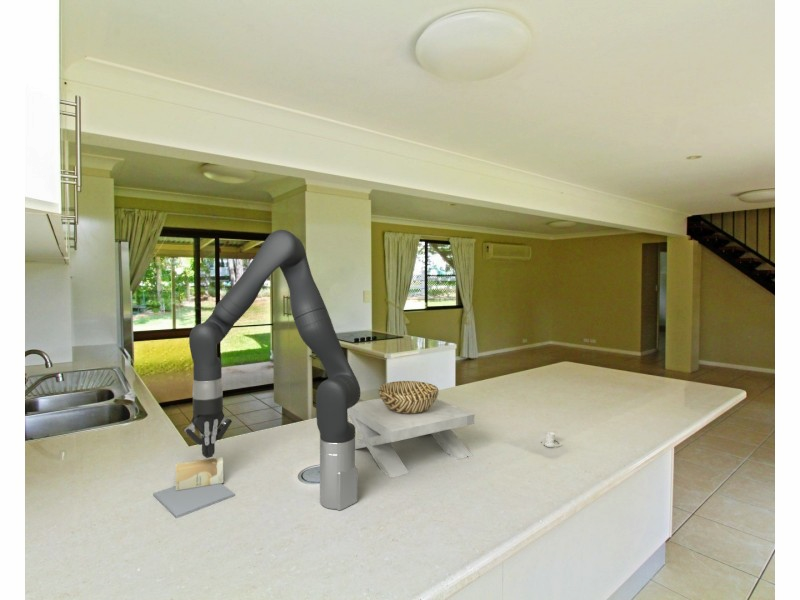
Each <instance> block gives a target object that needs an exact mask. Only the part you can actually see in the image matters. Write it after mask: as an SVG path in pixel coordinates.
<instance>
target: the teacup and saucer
mask: <svg viewBox="0 0 800 600" xmlns="http://www.w3.org/2000/svg"><path fill="white" fill-rule="evenodd" d="M555 438H556V433H555V432H552V431H547V432H545V439H546V441H544V443H543V444H544V445H545V446H544V447H546V446H547V447H546V448H551V447H555V446H556V443H555V442H554V440H556V439H555Z"/></svg>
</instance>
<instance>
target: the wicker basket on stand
mask: <svg viewBox="0 0 800 600" xmlns="http://www.w3.org/2000/svg"><path fill="white" fill-rule="evenodd" d="M439 391H440V390H439V388H438V387H437V386H436V385H434V384H432V383H428V382H425V381H423V382H422V381H418V380H417V381H416V380H414V381H413V380H400V381H399V380H398V381H392V382H386V383H383V384H382V385H380V386H379V387H378V395H379V397H380V398H374V399H369V400H368V399H367V400H363V401H358V402H357V403H356V404H355V405H354V406H352V407H350V408H349V409H347V414H348V418H349V419H350V420H351V423H352V424H353V425H354V426H355V430H356V432H357V433H358V435H360V437H361V439H359V440H355V450H357V449H363V448H367V450H368V451H369V452H370V454H371V456H372V457H373V459H374V461H375V463H376V464H377V465H378V467H379V469H380V471H382V472H383V473H385V474H386V475H387V476H388V477H389V478H396V477H400V476H403V474H404V475H407V474H410V472H409V470H408V469H407V467H406V466H405V464H404V463H403V462H402V460H401V458H400V457H399V455H398V453H397V452H396V451H395V449H394V447H393V446H392V445H391V443H394V442H398V441H402V440H403V441H404V440H407V439H411V438H416V437H421V436H425V435H426V436H427V435H429V434H431V436H432V437H433V438H434V440H435V441H436V443H438V444H439V446H440V447H441V449H442V450H444V452H445V454H447V453H448V454H447V455H449V454H450V455H449V456H451V457H453V458H454V459H456V458H457V459H456V460H461V458H462V459H464V457H465V458H468V457H467V456H469V457H471V455H472V456H473V454H472V453H471V452H470V450H469V449H468V448H467V447H466V446H465V444H464V443H463V442H462V441H461V440H460V438H459V437H458V436H457V435H456V434H455V432H454V431H453V430H452V429H457V428H461V427H466V426H470V425H474V424H475V414H474V413H472V412H470V411H468V410H466V409H463V408H460V407H458V406H455V405H452V404H450V403H448V402H445V401H443V400H440V399H438V396H439Z"/></svg>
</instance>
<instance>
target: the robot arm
mask: <svg viewBox="0 0 800 600" xmlns="http://www.w3.org/2000/svg"><path fill="white" fill-rule="evenodd" d="M279 268H280V271H281V272H282V274H283V276H284V279H285V281H286V284H287V287H288V290H289V302H290V309H291V315H292V318H293V321H294V324H295V326H296V329H297V331H298V334H299V336H300V338H301V339H302V342H304V343H305V345H306V346H307V347H308V348H309V349H310V351H312V352H313V353H314V355H315V356H316V357H317V358H318V359H319V361H320V363H321V364H322V365H323V368H324V370H325V373H326V376H327V379H325V380H323V381H322V382H321V383H320V384H319V385H318V386H317V390H316V394H315V410H316V426H317V429H318V432H319V503H320V505H321V506H322V507H324V508H326V509H331V510H337V511H342V510H344V509H346V508H348V507H349V506H351V505H354V504H356V503H357V502H358V470H359V469H358V466H356V449H355V441H356V428H355V426H354V424H353V423H352V422H350V421H349V419H348V418H349V416H348V414H347V409H349V408H350V407H352V406H354V405H355V404H356V403H357V402H360V399H361V388H360V384H359V381H358V378H357V377H356V375H355V373H354V370H353V368H352V367H351V365H350V363H349V361H348V359H347V357H346V355H345V353H344V351H343V348H342V346H341V343H340V341H339V337H338V335H337V333H336V331H335V328H334V324H333V322H332V319H331V316H330V313H329V311H328V308H327V307H326V304H325V301H324V299H323V296H322V294H321V292H320V290H319V288H318V286H317V284H316V282H315V279H314V278H313V275H312V270H311V268H310V264H309V261H308V257H307V252H306V249H305V246H304V243H303V242H302V241H301V239H300V238H298V237H297V236H296V235H295V234H294V233H292V232H291V231H289V230H286V229H278V230H274V231H272V232H271V233H270V234H269V235H268V236H267V237H266V239H264V242H263V243H262V245H261V246H260V248H259V250H258V251H257V253H256V255H254V257H253V258H252V260H251V261H250V263H249V264H248V266H247V267H246V269H244V272H243V273H242V274H241V276H240V277H239V278H238V280H236V281H235V283H234V284H233V285H232V287H231V288H230V289H229V290H228V291H227V292H226V293H225V295H224V296H223V297H222V298H221V299H220V300H219V301H218V302H217V304H216V305H215V307H214V308H213V312H212V313H211V314H210V316H208V318H207V319H206V320H205V321H204V322H202V323H198V324H196V325H194V327H192V329H191V331H190V333H189V338H188V342H189V343H188V344H189V349H190V355H191V359H192V363H193V366H192V367H193V371H192V373H193V384H192V392H191V394H192V395H191V396H192V416H193V417H192V419H191V420H190V421H191V423H190V424H189V425H188V426H187V427H183V429H182V432H183V433H184V434H186V435H187V436H188V437H189V438H190V439H191V440H192V441H193V442H194V443H195V444H197V445H200V446H201V455H202V456H203V457H204V458H206V459H211V458H212V457H213V455H214V454H215V452H216V451H215V450H216V449H215V443H216V442H217V441H220V440H221V439H222V438H223V437H224V435H225V434H226V432H227V430H228V429H229V428H230V425H231V424H232V422H233V420H232V419H230V418H229V417H225V413H224V411H223V410H224V404H223V403H224V398H223V397H224V394H223V393H224V392H223V387H224V385H223V379H222V360H221V358H220V357H219V356H218V347H217V346H218V345H219V344H220V343H221V342H222V341H223V340H224V339H225V338H226V336H227V335H228V334H229V332H230V331H231V330H232V328H233V326H234V325H235V324H236V323H237V322H238V321H239V320H240V319H241V318H242V317H243V316H244V314H245V313H247V311H248V310H249V309H250V308H251V307H252V305H253V304H254V302H255V301H256V299H257V298H258V296H259V293H260V291H261V289H262V287H263V286H264V284H265V283H266V281H267V279H269V277H270V276H271V275H272V274H273V273H274V272H275V271H276V270H278V269H279ZM196 430H197V431H198V432H199V436H200V437H199V436H198V435H197V434H196V433H195V431H196ZM213 458H214V457H213Z"/></svg>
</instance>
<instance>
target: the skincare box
mask: <svg viewBox="0 0 800 600" xmlns="http://www.w3.org/2000/svg"><path fill="white" fill-rule="evenodd" d="M224 475H225V474H224V458H223V456H219V457H213V458H212V457H210V458H206V459H204V458H203V459H199V460H191V461H183V462H178V463H176V464H175V486H176V491H178V490H184V489H190V488H196V487H202V486H208V485H214V484H220V483H221V484H223V483H224V481H225V480H224V479H225V478H224Z"/></svg>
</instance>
